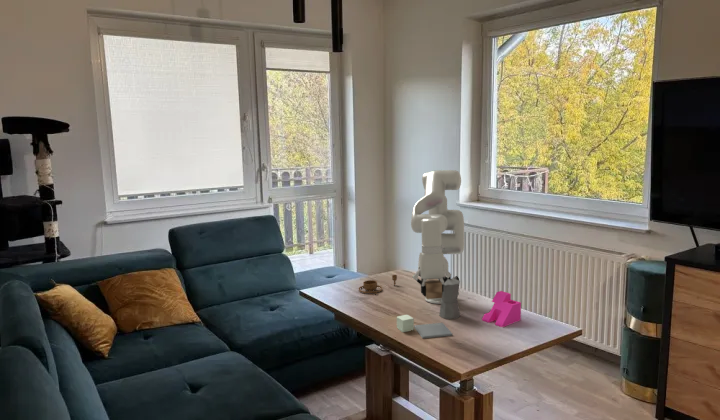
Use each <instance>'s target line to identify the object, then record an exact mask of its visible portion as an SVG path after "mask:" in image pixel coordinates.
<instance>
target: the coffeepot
mask: <svg viewBox="0 0 720 420" xmlns="http://www.w3.org/2000/svg"><path fill="white" fill-rule="evenodd" d="M460 282H461V280H460V278H459V276H458V275H456V276H453V277H452V275H451V276H450V277H449V278H448V280H447V281H446V282H445V284H444V285H443V292H442V300H441V304H440V308H439V315H438V316H439V317H440V318H441V319H442V318H443V319H445V320H454V319H458V318H460V316H461V312H460V305H459V301H458V296H459V295H458V291H460V284H461V283H460Z"/></svg>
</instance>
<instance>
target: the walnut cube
mask: <svg viewBox="0 0 720 420" xmlns="http://www.w3.org/2000/svg"><path fill="white" fill-rule="evenodd" d="M425 286H426V296H424V298H425V297H426V299H435V298H442V283H441V282H440V281H439V280H438V279H427V280H426V283H425Z"/></svg>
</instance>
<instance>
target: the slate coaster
mask: <svg viewBox="0 0 720 420" xmlns="http://www.w3.org/2000/svg"><path fill="white" fill-rule="evenodd" d="M414 329H415V331H416V332H417V333H418V334H419V335H420V337H421V339H432V338H441V337H451V336H453V333H452V331H451V330H450V329H449V328H448V327H447V326H446V324H444V322H435V323H434V322H432V323H424V324H414Z"/></svg>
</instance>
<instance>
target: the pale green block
mask: <svg viewBox="0 0 720 420" xmlns="http://www.w3.org/2000/svg"><path fill="white" fill-rule="evenodd" d="M414 319H415V318H414V317H413V316H411V315H409V314H403V315H398V316H396V329H397V328H398V329H397V330H399V331H400V332H401V333H406V332H407V333H408V332H411V330H412V331H414V329H415V328H414V325H415V323H414Z"/></svg>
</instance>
